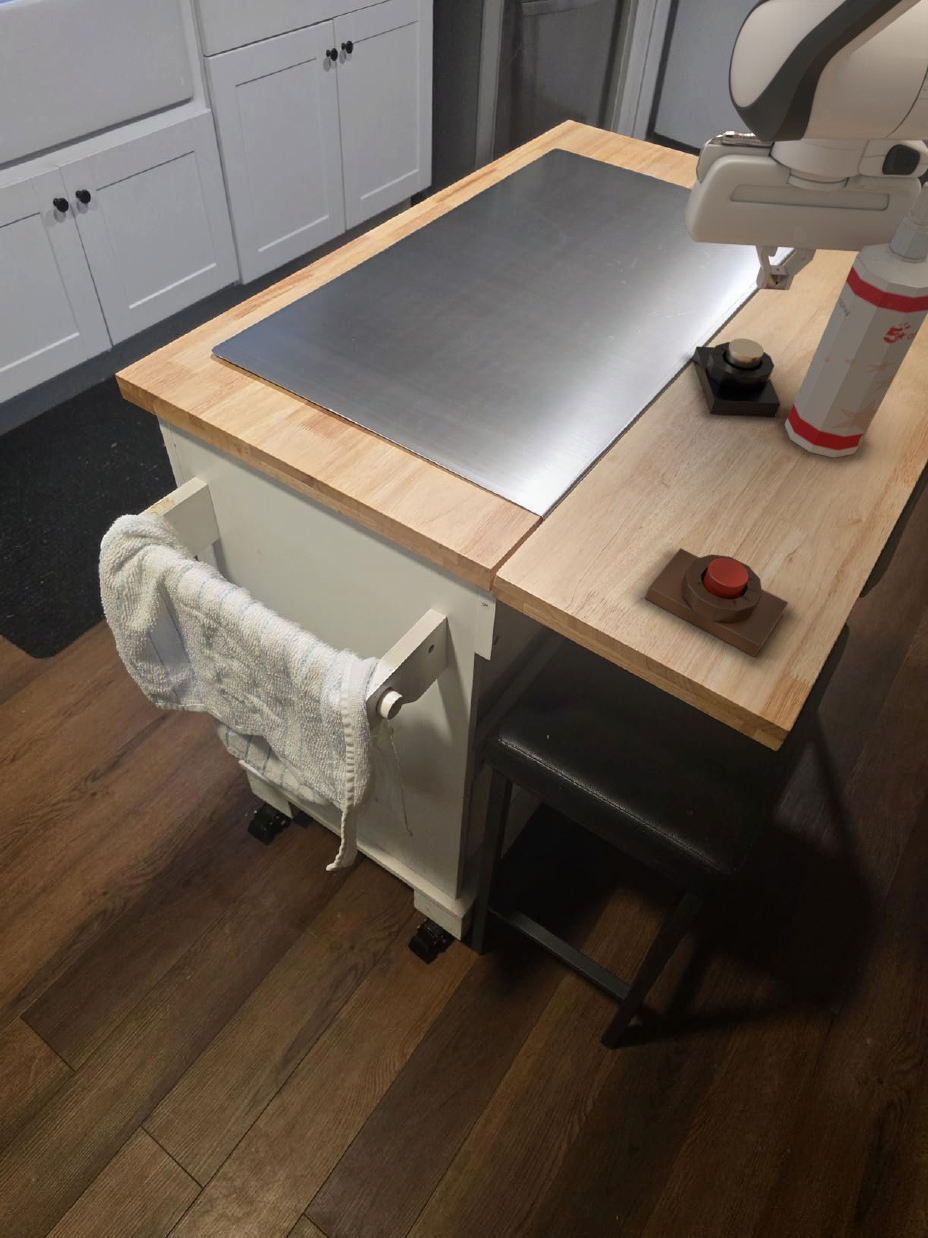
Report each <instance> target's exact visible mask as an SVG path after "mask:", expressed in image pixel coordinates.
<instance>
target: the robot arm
mask: <svg viewBox="0 0 928 1238" xmlns="http://www.w3.org/2000/svg"><path fill="white" fill-rule="evenodd" d="M728 66H729V67H728V80H727V83H728V94H729V97H730V101H731V103H732V106H733V108H734V109H735V111H736V113H737V115H738V116H739V118H740V120H741V121H742V122H743V124H744V125H745V126H746V127H747V128H748V130H749V131H739V130H737V129H726V130H725V129H724V130H722V131H721V133H720V134H716V135H713V136H712V137H710V138H709V139H708V140H707V141H706V142H704V144H702V146H701V149H700V151H699V155H698V160H697V163H696V167H695V175H696V178H695V181H694V183H693V186H692V188H691V191H690V193H689V197H688V200H687V202H686V206H685V208H684V213H683V224H684V227H685V230H686V232H687V234H688V235H689V237H690V238H691V240H692V241H693V242H695V243H699V244H700V243H702V244H715V245H716V244H717V245H737V246H753V247H755V251H756V254H757V258H758V262H759V265H760V266H759V270H758V273H757V275H756V280H755V284H756V286H757V289H758V290H773V291H789V290H790V289H791V286H792V283H793V281H794V278H795V276H797V275H798V274H799V273H800V272H801V271H802V270H804V268H805V267H806V266H807V265H808V264H810V263H811V262H812V261H813V259H814V257H815V255H816V252H817V250H824V251H825V250H826V251H838V252H839V251H840V252H841V251H842V252H856V253H857V252H858V253H859V252H860V251H861V250H862V248H863V247H864V246H869V245H877V244H885V243H887V244H890V243H891V241H892V239H893V237H894V235H895V233H896V231H897V229H898V227H899V225H900V223H901V221H902V220H903V219H904V217H905V215H906V214H907V213H908V212H909V211H910V210H911V209H912V208H913V207H914V205H915V203H916V201H917V199H918V196H919V194H920V192H921V190H922V184H921V181H920V179H919V178H920V177H922V176H923V175H924V174H925V173H926V172H927V170H928V146H927V145H926V143H925V142H924V141H928V0H758V1H757V2H756V3H755V4H754V5H753V7H752V8H751V9H750V10H749V11H748V13H747V15H746V16H745V18H744V20H743V21H742V24H741V25H740V28H739V30H738V33H737V35H736V38H735V41H734V43H733V47H732V51H731V56H730V60H729V65H728ZM779 248H786V249H787V248H789V249H794V250H795V252H794V253H793V254H792V255H791V256H790V258H789V259H788V260H787V261H786V262H785V263H784V264H783V265H782V264H781V265H777V264H771V262H770V258H774V257H776V254H777V252H778V249H779Z"/></svg>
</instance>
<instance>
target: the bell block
mask: <svg viewBox="0 0 928 1238" xmlns="http://www.w3.org/2000/svg"><path fill="white" fill-rule="evenodd" d="M719 558H728V559H732V560H735V561H737V562H739V563H740V564H741V565H743V566H744V567H745V569H746V570H747V573H748V580H747V582H746V584H745V587H744V589H743V591H742V593H741V594H740V595H739V596H738V597H736V598H733V599H723V598H719V597H717V596H715V595H713V594H712V593H710V592H709V591H708V590H707V589H706V587H705V585H704V577H705V574H706V572H707V569H708V567H709V565H710V563H711V562H712V561H714V560H716V559H719ZM644 598H645V600H648V602H651V603H653V604H655V605H657V606H658V607H660V608H662V609H664V610H666V611H668V612H669V613H672V614H673V615H675V616H677V617H679V618H681V619H682V620H685V621H686V622H688V623H691V624H692V625H693V626H696V627H698V628H699V629H701V630H704V632H705V631H706V632H707V633H709V634H710V635H713V636H715V637H717V638H718V639H721V640H722V641H724V642H726V643H728V644H730V645H732V646H734V647H735V648H737V649H739V650H741V651H743V652H744V653H747V654H748V655H750V656H752V657H756V656H757V654H758V653H759V651H760V650H761V648H762V646H763V645H764V644H765V642H766V640H767V639H768V637H769V636H770V634H771V633H772V631H773V629H774V628H775V626H776V624H777V623H778V622H779V620H780V618H781V617H782V615H783V613H784V612H785V610H786V607H787V606H788V604H789V602H788V601H786V600H784V599H782V598H780V597H778V596H777V595H774V594H772V593H770V592H768V591H767V590H764V589H762V583H761V578H760V577H759V576H758V575H757V573H756V572H754V570H753V569H752V568H751V567H750V566H749V565H748V564H746V563H744V562H741V561H740V560H738V559H736V558H734V557H732V556H729V555H728V556H727V555H720V554H719V555H718V554H708V555H704V556H702V557H699V556H697V555H695V554H693V553H691V552H689V551H688V550H686V549H683V548H681V547H680V548H679V549H678V550H677V552H676V553H675V554H674V555H673V557H672V558H671V559H670V560H669V561H668V563H667V564H666V565H665V566H664V567H663V569H662V570H661V571H660V573H659V574H658V575H657V576H656V578H655V579H654V580H653V582H652V583H651V584H650V585H649V587H648V589H647V592H646V594H645V597H644Z"/></svg>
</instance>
